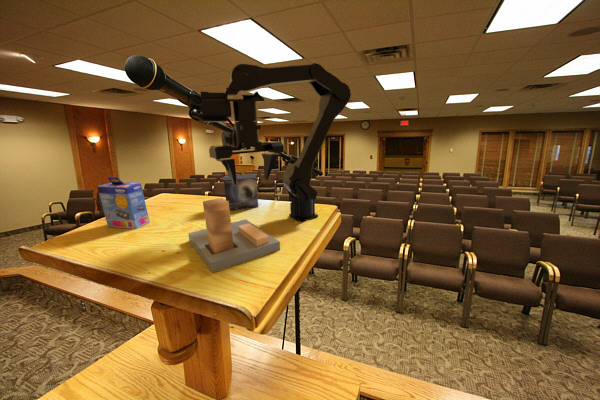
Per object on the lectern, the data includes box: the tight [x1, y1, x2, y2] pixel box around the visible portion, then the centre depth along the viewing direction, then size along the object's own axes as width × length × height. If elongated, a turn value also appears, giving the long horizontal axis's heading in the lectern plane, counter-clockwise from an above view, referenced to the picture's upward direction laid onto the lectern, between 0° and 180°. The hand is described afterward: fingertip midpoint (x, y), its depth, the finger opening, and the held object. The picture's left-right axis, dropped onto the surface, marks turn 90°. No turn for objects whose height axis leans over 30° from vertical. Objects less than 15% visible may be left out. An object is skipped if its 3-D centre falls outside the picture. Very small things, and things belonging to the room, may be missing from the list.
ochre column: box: [202, 197, 234, 255], centre depth 55 cm, size 4×4×12 cm
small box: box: [223, 173, 259, 211], centre depth 88 cm, size 11×6×10 cm, turn 105°
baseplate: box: [188, 218, 281, 273], centre depth 60 cm, size 15×18×4 cm
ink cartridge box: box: [96, 176, 150, 230], centre depth 74 cm, size 10×6×14 cm, turn 78°
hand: (251, 182), depth 70 cm, fingers open, 9 cm apart
